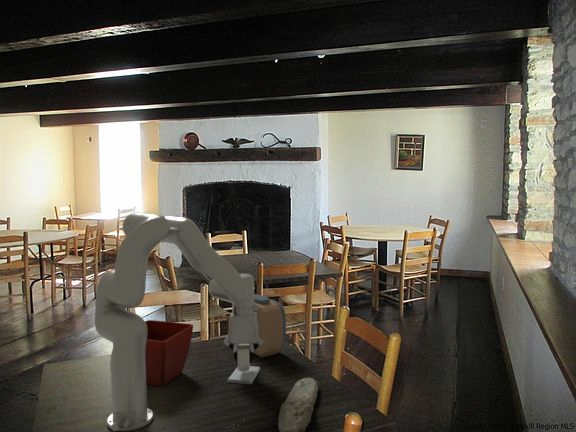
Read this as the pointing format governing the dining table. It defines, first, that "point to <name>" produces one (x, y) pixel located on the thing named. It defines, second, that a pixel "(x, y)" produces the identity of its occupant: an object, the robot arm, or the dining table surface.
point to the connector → (243, 357)
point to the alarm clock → (270, 325)
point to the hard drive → (244, 375)
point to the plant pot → (166, 350)
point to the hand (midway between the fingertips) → (244, 361)
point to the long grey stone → (298, 406)
